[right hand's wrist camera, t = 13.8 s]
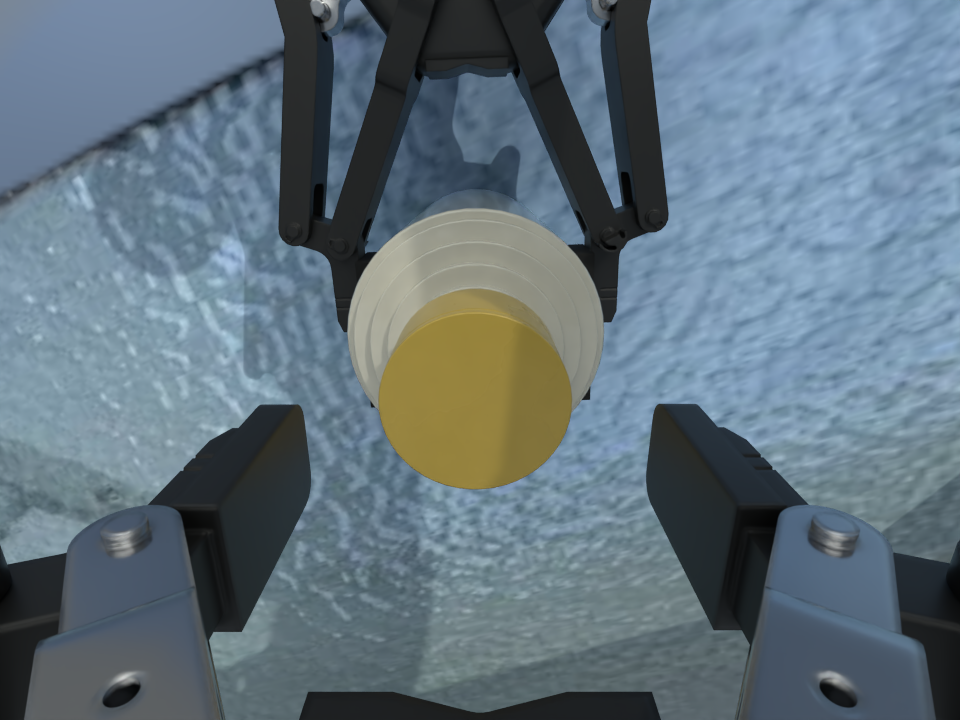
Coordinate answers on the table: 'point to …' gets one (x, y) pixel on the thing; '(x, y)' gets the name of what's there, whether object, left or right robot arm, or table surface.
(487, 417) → the cap
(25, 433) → the table surface
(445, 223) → the bottle
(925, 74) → the table surface
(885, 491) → the table surface
